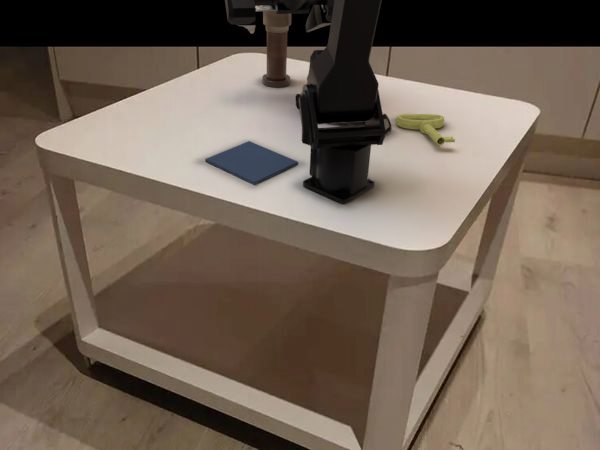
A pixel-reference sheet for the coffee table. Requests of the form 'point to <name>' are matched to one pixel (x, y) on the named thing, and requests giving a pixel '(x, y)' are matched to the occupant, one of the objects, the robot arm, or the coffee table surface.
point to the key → (424, 125)
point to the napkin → (251, 162)
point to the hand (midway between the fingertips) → (279, 30)
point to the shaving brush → (276, 48)
